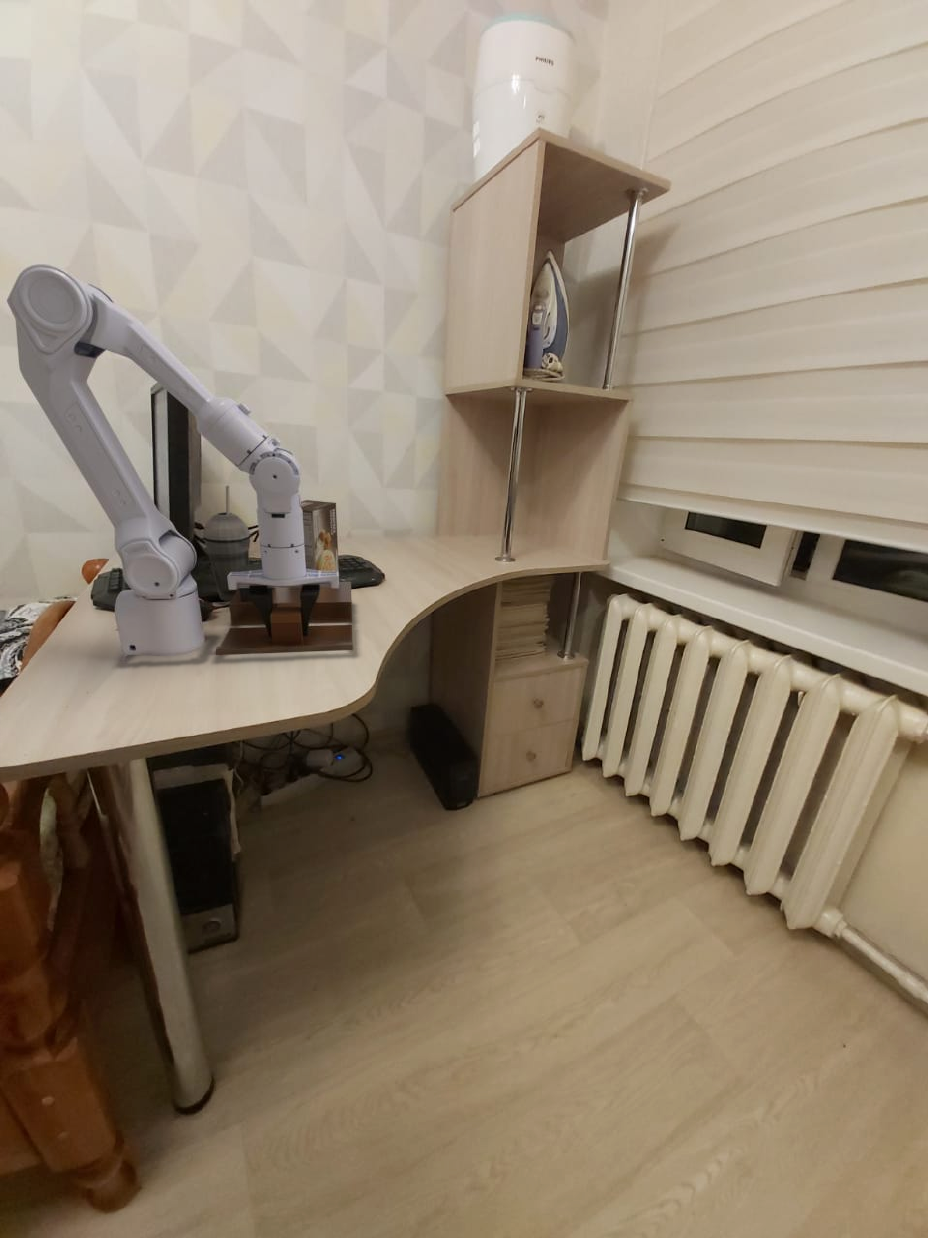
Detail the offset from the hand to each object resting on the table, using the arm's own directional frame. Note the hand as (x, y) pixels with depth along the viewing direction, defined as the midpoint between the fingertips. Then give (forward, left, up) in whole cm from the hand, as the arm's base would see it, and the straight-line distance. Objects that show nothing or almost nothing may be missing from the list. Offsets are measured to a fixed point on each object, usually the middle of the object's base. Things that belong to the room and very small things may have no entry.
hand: (289, 634), depth 73 cm
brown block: (0, +1, -1) cm, 1 cm away
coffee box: (+2, +25, -2) cm, 26 cm away
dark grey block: (-6, +10, +3) cm, 12 cm away
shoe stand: (0, +4, -2) cm, 5 cm away
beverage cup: (-11, +18, -2) cm, 22 cm away
